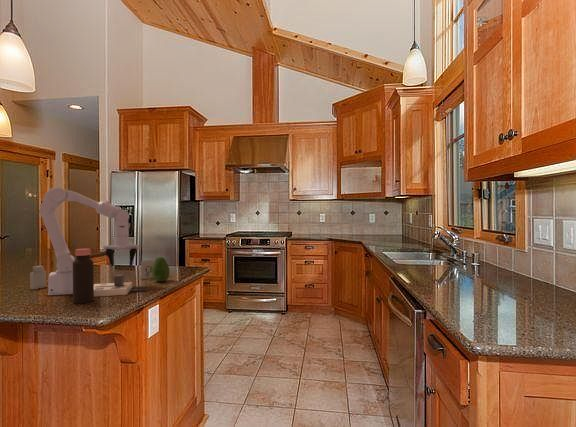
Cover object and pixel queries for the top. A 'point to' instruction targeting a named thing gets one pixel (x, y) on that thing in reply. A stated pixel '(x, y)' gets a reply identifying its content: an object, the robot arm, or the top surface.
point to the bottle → (83, 277)
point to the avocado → (160, 270)
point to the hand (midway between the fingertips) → (121, 265)
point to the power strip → (116, 289)
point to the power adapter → (37, 277)
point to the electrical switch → (147, 269)
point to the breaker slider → (119, 280)
